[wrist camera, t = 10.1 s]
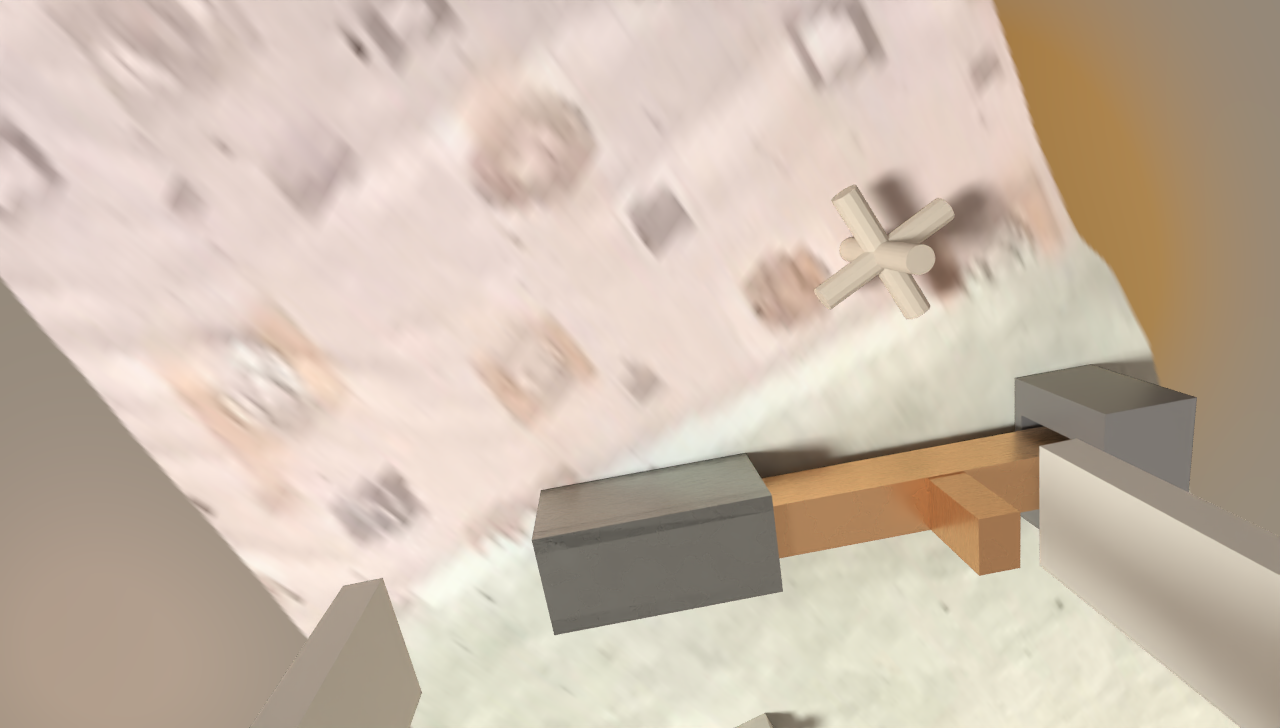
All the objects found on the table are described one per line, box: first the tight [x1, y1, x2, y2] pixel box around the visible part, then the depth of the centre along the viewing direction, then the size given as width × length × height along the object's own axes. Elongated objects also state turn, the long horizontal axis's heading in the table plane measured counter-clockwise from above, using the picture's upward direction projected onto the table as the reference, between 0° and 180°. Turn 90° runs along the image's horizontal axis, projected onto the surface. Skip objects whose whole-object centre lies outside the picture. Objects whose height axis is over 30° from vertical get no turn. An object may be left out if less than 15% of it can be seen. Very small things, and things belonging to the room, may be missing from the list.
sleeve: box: [532, 453, 783, 635], centre depth 46 cm, size 8×17×8 cm, turn 99°
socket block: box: [1015, 365, 1197, 529], centre depth 46 cm, size 12×6×9 cm, turn 9°
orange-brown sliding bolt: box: [762, 426, 1072, 576], centre depth 44 cm, size 4×30×10 cm, turn 99°
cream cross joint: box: [814, 185, 955, 319], centre depth 41 cm, size 10×10×10 cm
